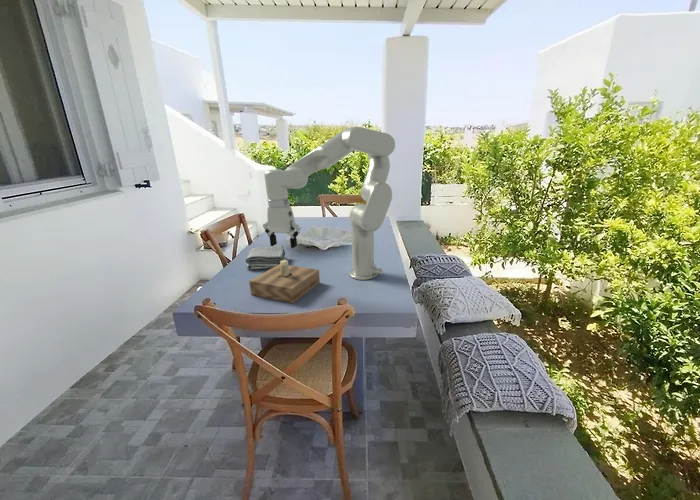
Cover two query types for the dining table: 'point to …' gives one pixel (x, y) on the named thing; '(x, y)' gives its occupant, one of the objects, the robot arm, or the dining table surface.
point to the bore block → (285, 283)
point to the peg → (284, 268)
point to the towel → (265, 257)
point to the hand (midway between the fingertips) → (283, 246)
